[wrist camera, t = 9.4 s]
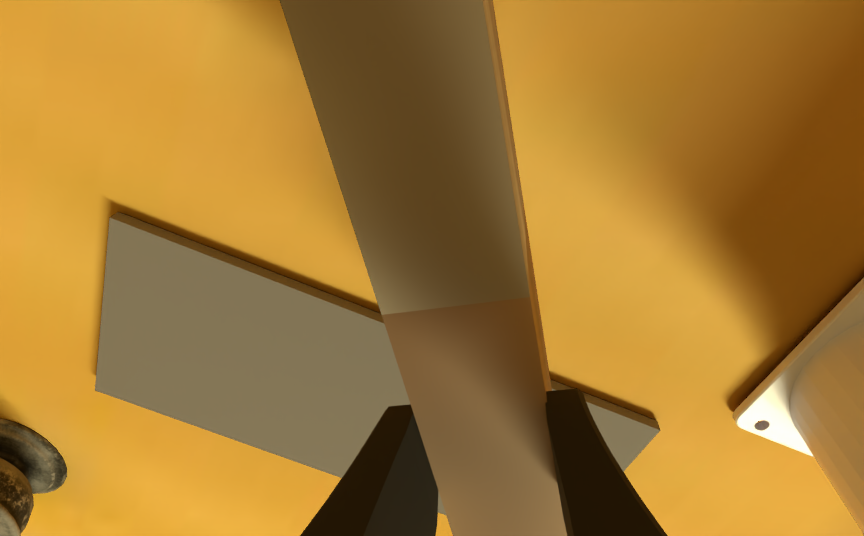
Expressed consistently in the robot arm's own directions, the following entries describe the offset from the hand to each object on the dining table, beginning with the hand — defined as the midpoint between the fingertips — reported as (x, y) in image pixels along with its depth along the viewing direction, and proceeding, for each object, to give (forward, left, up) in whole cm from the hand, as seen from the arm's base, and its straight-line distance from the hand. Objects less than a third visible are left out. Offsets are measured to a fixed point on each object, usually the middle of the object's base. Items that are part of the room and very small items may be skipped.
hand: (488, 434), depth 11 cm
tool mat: (+2, +9, -9) cm, 13 cm away
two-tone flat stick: (0, 0, -4) cm, 4 cm away
